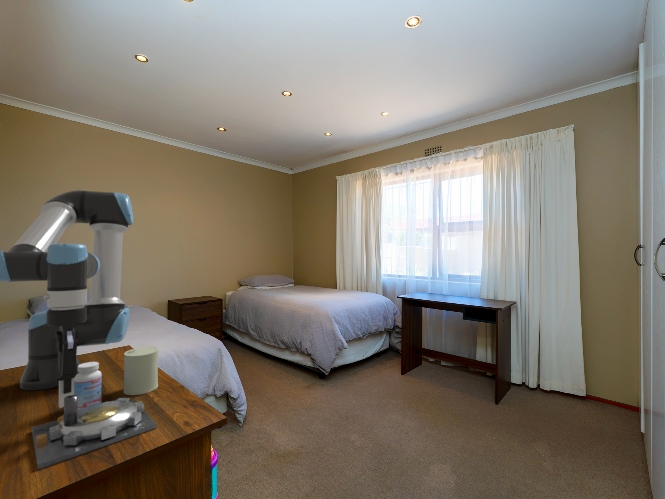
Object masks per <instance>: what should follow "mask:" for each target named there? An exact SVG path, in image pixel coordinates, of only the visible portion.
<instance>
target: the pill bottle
mask: <svg viewBox="0 0 665 499" xmlns="http://www.w3.org/2000/svg"><path fill="white" fill-rule="evenodd" d="M99 367H100V363H99V362H98V361H88V362H84V363H80V365H79V366H78V370H77V371H78V372H79V373H78V374H77V375H76V377H75V378H74V395H78V410H80V409H82V408H85V407H87V404H90V403H93V402H97V401H99V402H100V403H102V388H103V386H102V384H103V383H102V382H103V381H102V378H103V375H102V371H100V370H99Z"/></svg>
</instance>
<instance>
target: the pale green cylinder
mask: <svg viewBox="0 0 665 499" xmlns="http://www.w3.org/2000/svg"><path fill="white" fill-rule="evenodd" d="M123 358H124V359H123V360H124V362H123V364H124V365H123V367H124V368H123V370H124V371H123V373H124V375H123V394H124V395H126V396H140V395H144V394H148V393H151V392H152V391H155V390H157V388H158V387H159V379H158V376H159V375H158V374H159V372H158V371H159V370H158V368H159V364H158V363H159V361H158V360H159V348H158V347H155V346H144V347H143V346H142V347H136V348H132V349H129V350H127V351H125V352H124V353H123Z"/></svg>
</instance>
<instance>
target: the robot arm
mask: <svg viewBox="0 0 665 499" xmlns="http://www.w3.org/2000/svg"><path fill="white" fill-rule="evenodd" d="M40 207H41V208H40V209H39V216H38V217H37V218H36V219H35V220H34V221H33V222H32V224H31V225H30V226H29V227H28V228H27V229H26V230H25V232H24V233H23V234H22V235H21V236H20V238H19V239H18V240H17V241H16V242H14V244H13V245H12V246H11V248H9V250H8V251H3V250H1V251H0V282H2V283H3V282H7V283H17V282H39V281H41V282H42V281H44V282H47V283H46V291H47V292H46V293H47V294H45V295H44V294H43V299H44V300H46V307H47V308H49V309H47V310H44V311H40V312H36V313H34V314H32V315H31V316H30V317H29V320H28V328H27V331H28V332H27V333H28V339H27V340H28V341H27V342H28V345H27V346H28V349H27V350H28V352H27V354H28V355H27V357H28V358H27V363H26V366H25V367H24V370H23V373H22V375H21V378H20V383H19V387H20V390H23V391H43V390H48V389H53V388H57V387H58V408H59V409H62V408H64V398H65V397H67V396H70V395H74V378H75V377H76V375H77V374H78V373H79V372H78V371H77V370H78V366H79V365H80V364H81V363H80V362H79V359H78V357H77V351H78V350H77V349H78V347H87V346H97V345H109V344H115V343H116V344H117V343H120V342H122V341H123V340H124V339H125V337H126V334H127V332H128V328H129V322H130V317H131V314H130V313H131V311H130V308H128V307H125V306H126V303H125V302H124V301H123V300H122V299H121V286H122V284H121V283H122V265H123V264H122V263H123V262H122V261H123V260H122V259H123V242H124V239H123V238H124V234H125V233H126V232H128V230H129V226H132V225H133V224H134V213H133V206H132V202H131V198H130V196H129V195H128V194H126V193H122V192H114V191H113V192H111V191H110V192H109V191H93V190H92V191H91V190H79V189H78V190H70V191H67V192H63V193H61V194H59V195H56V196H54V197H52V198H50V199H49V200H48V201H45V203H44V204H43V205H42V206H40ZM74 224H88V225H89V226H88V228H89V229H91V231H92V232H93V245H92V246H93V248H92V253H91V252H88V247H87V246H86V245H85V244H84V243H58V241H59V240H60V238H61V237H62V236H63V235H64V232H65V231H66V230H67V228H70V227H72V226H73V225H74ZM88 279H90V280H91V281H90V296H89V300H88V288H87V287H88V286H87V284H88Z"/></svg>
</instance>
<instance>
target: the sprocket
mask: <svg viewBox="0 0 665 499" xmlns="http://www.w3.org/2000/svg"><path fill="white" fill-rule="evenodd" d="M129 400H130V397H119V398H117V399H115V400H109V401H105V402H101V403H100V402H99V401H97V402H93V403H90V404H87V407H85V408H82V409H80V410H78V395H70V396H67V397H65V398H64V407H63V414H61V415H60V416H58V417H57V420H58V425H56V426H53V427H50V440H54V439H57V438H60V437H61V438H62V439H64V445H77V444H78V443H79V442H81V441H83V440H90V439H95V438H99V437H100V438H101V440H104V439H107V438H110V437H113V436H115V435H116V431H119V430H121V429H123V428H124V427H126V426H128V425H136V424H137V423H138V422H139V421H140V420H141V412H143V411H144V410H145V403H144V402H143V401H142V400H140V401H137V402H135V403H133V402H130V401H129Z"/></svg>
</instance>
